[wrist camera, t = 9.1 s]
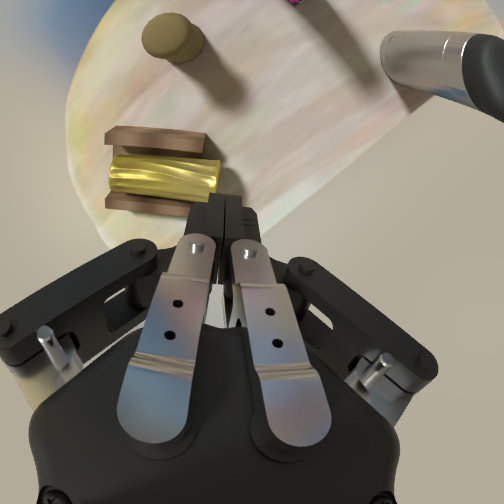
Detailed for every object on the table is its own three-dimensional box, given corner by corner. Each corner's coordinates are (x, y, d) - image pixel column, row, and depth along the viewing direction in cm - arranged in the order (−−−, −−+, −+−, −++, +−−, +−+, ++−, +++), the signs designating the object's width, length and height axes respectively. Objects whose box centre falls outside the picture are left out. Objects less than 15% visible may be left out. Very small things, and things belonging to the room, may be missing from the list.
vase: (213, 214, 37) (109, 204, 35) (215, 189, 41) (123, 180, 39) (219, 174, 33) (105, 164, 30) (221, 152, 37) (121, 143, 35)
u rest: (205, 133, 36) (203, 141, 33) (195, 202, 43) (193, 217, 39) (116, 125, 34) (104, 133, 30) (114, 194, 40) (105, 208, 37)
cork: (213, 32, 28) (208, 20, 19) (189, 70, 31) (175, 71, 22) (173, 15, 26) (153, -2, 17) (150, 53, 28) (122, 50, 20)
